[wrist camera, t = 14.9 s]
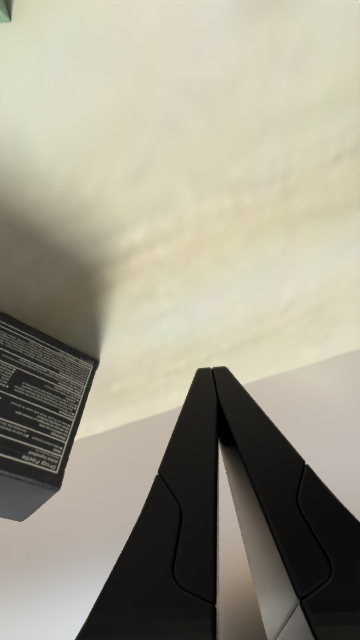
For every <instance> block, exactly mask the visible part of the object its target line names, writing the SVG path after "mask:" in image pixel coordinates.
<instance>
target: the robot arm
mask: <svg viewBox="0 0 360 640" xmlns="http://www.w3.org/2000/svg"><path fill="white" fill-rule="evenodd" d="M219 444H220V449H221V453H222V457H223V461H224V465H225V470H226V474H227V477H228V482H229V486H230V490H231V494H232V497H233V502H234V505H235V510H236V514H237V518H238V522H239V526H240V530H241V534H242V538H243V543H244V546H245V550H246V555H247V559H248V563H249V566H250V571H251V575H252V579H253V583H254V587H255V591H256V595H257V599H258V603H259V607H260V611H261V616H262V620H263V624H264V628H265V632H266V636H267V640H360V522H359V521H358V520H357V519H356V518H355V516H354V515H353V514H352V513H351V512H349V510H348V509H347V508H346V507H344V505H343V504H342V503H341V502H340V501H339V500H338V499H337V497H336V496H335V495H334V494H333V493H332V492H331V491H330V490H329V489H328V487H327V486H326V485H325V484H324V483H323V482H322V480H321V479H320V478H319V477H318V476H317V475H316V473H315V472H314V471H313V470H312V468H311V467H310V466H309V465H308V464H306V465H305V463H306V462H305V460H304V459H303V458H302V457H301V456H300V455H299V453H298V452H297V451H296V449H295V448H294V447H293V446H292V445H291V444H290V442H289V441H288V440H287V439H286V438H285V436H284V435H283V434H282V433H281V432H280V430H279V429H278V428H277V427H276V426H275V424H274V423H273V422H272V421H271V420H270V418H269V417H268V416H267V415H266V414H265V412H264V411H263V410H262V409H261V408H260V406H259V405H258V404H257V403H256V402H255V400H253V398H252V397H251V396H250V394H249V393H248V392H247V391H246V390H245V388H244V387H243V386H242V385H241V384H240V382H239V381H238V380H237V379H236V378H235V377H234V375H233V374H232V373H231V372H230V371H229V369H228V368H227V367H225V366H220V367H213V368H212V369H211V368H210V367H207V368H198V369H197V371H196V373H195V376H194V378H193V381H192V384H191V386H190V389H189V391H188V394H187V397H186V399H185V402H184V404H183V407H182V410H181V412H180V415H179V417H178V420H177V423H176V425H175V428H174V430H173V433H172V436H171V438H170V441H169V443H168V446H167V449H166V451H165V454H164V457H163V459H162V462H161V464H160V467H159V469H158V474H157V475H156V477H155V479H154V482H153V484H152V487H151V490H150V492H149V494H148V497H147V499H146V502H145V504H144V506H143V509H142V511H141V514H140V516H139V518H138V520H137V522H136V524H135V526H134V528H133V530H132V532H131V534H130V536H129V538H128V540H127V542H126V544H125V546H124V548H123V550H122V552H121V554H120V556H119V558H118V560H117V562H116V564H115V565H114V567H113V570H112V571H111V573H110V575H109V577H108V579H107V581H106V583H105V585H104V587H103V589H102V591H101V593H100V595H99V596H98V598H97V600H96V602H95V604H94V606H93V608H92V610H91V612H90V614H89V616H88V618H87V619H86V621H85V623H84V625H83V626H82V628H81V630H80V632H79V633H78V635H77V637H76V639H75V640H219Z"/></svg>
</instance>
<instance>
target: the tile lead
mask: <svg viewBox="0 0 360 640" xmlns="http://www.w3.org/2000/svg"><path fill="white" fill-rule="evenodd" d="M0 22H11V21H10V17H9V14H8V11H7V7H6V4H5V0H0Z"/></svg>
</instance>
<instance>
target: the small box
mask: <svg viewBox="0 0 360 640" xmlns="http://www.w3.org/2000/svg"><path fill="white" fill-rule="evenodd" d="M98 366H99V361H97V360H95V359H93V358H91V357H89V356H87V355H85V354H83V353H81V352H79V351H77V350H75V349H73V348H71V347H69V346H67V345H65V344H63V343H61V342H59V341H57V340H55V339H53V338H51V337H49V336H47V335H45V334H43V333H41V332H39V331H37V330H35V329H33V328H31V327H29V326H27V325H25V324H23V323H21V322H19V321H17V320H15V319H13V318H11V317H9V316H7V315H5V314H3V313H1V312H0V517H1V518H5V519H10V520H14V521H19V522H22V521H24V520H25V519H27V518H28V517H29V516H30V515H32V514H33V513H34V512H35V511H36V510H37V509H38V508H40V507H41V506H42V505H43V504H44V503H45V502H46V501H48V500H49V499H50V498H51V497H52V496H53V495H54V494H56V492H58V491H59V490H60V488H61V485H62V481H63V478H64V472H65V468H66V465H67V462H68V459H69V455H70V452H71V449H72V445H73V442H74V438H75V436H76V433H77V430H78V427H79V424H80V421H81V417H82V414H83V411H84V408H85V404H86V401H87V398H88V394H89V392H90V389H91V386H92V382H93V379H94V375H95V372H96V370H97V369H98Z"/></svg>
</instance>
